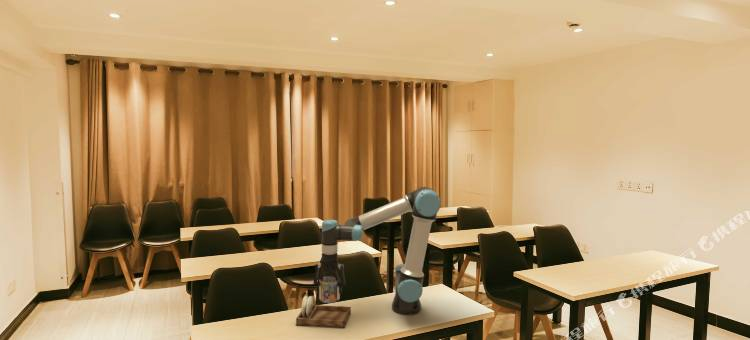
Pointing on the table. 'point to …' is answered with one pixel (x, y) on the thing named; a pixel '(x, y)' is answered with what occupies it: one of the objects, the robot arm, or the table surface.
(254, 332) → the table surface
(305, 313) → the plates
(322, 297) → the mug
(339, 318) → the rack
